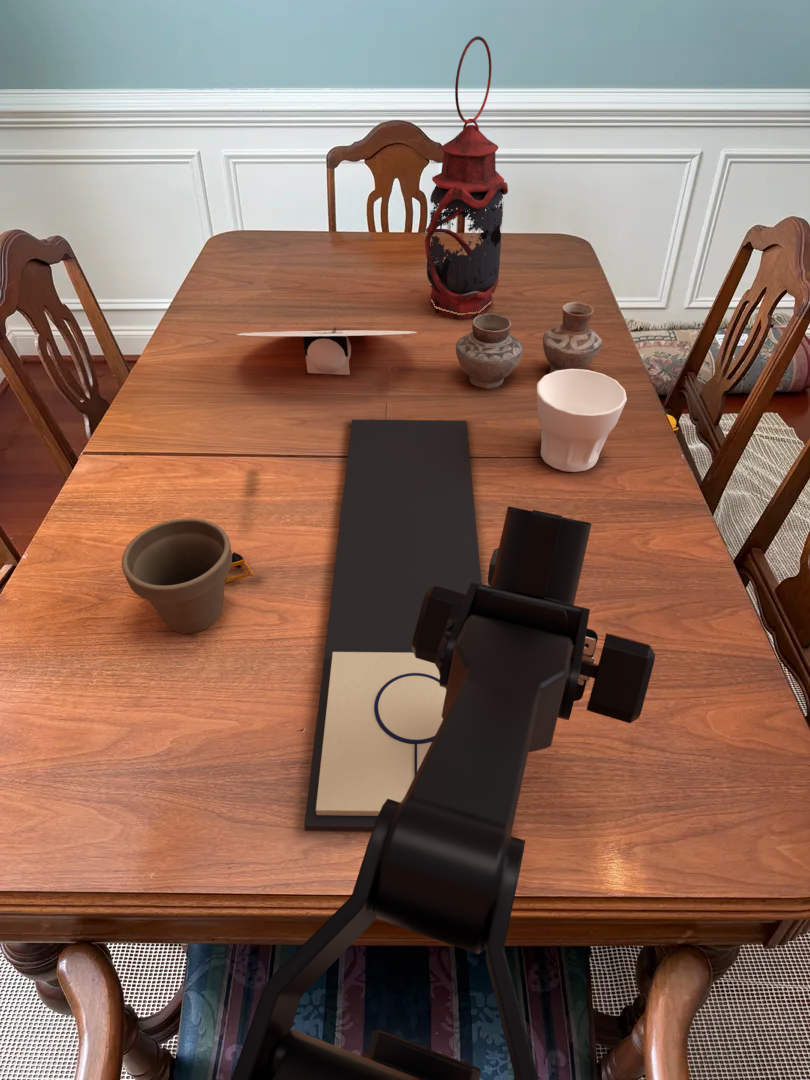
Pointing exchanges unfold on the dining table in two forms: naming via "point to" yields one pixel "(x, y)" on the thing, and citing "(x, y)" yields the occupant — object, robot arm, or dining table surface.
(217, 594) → the flower pot
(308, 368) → the cake stand
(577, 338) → the pottery
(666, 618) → the dining table surface
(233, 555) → the golden diamond frame ornament
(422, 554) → the long black board
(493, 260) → the lantern
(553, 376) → the cup
